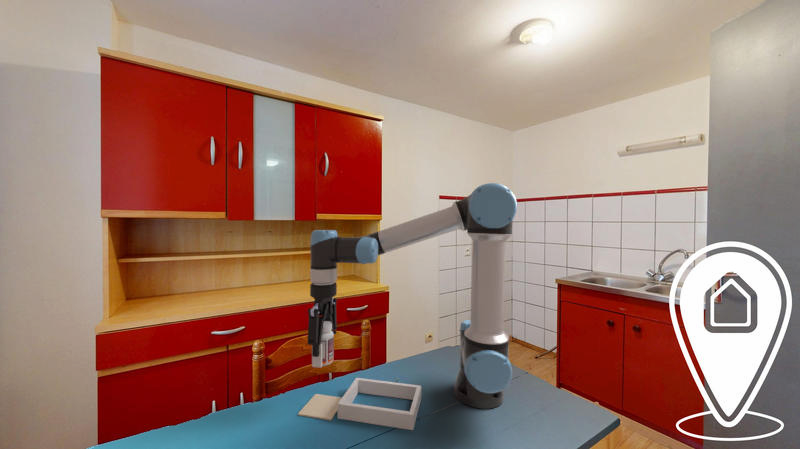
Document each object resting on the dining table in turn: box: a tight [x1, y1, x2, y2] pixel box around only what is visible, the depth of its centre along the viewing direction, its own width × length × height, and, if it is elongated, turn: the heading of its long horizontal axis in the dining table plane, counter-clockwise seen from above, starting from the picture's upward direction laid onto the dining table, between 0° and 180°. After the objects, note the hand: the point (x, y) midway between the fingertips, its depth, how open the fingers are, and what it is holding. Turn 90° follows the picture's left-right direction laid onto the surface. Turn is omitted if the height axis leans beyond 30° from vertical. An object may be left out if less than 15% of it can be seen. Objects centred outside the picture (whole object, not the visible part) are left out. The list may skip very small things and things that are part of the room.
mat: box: [297, 393, 342, 421], centre depth 87 cm, size 10×10×1 cm
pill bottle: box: [321, 321, 335, 367], centre depth 87 cm, size 6×6×11 cm
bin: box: [337, 377, 422, 431], centre depth 87 cm, size 21×14×4 cm
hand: (322, 361), depth 87 cm, fingers closed on pill bottle, 6 cm apart
